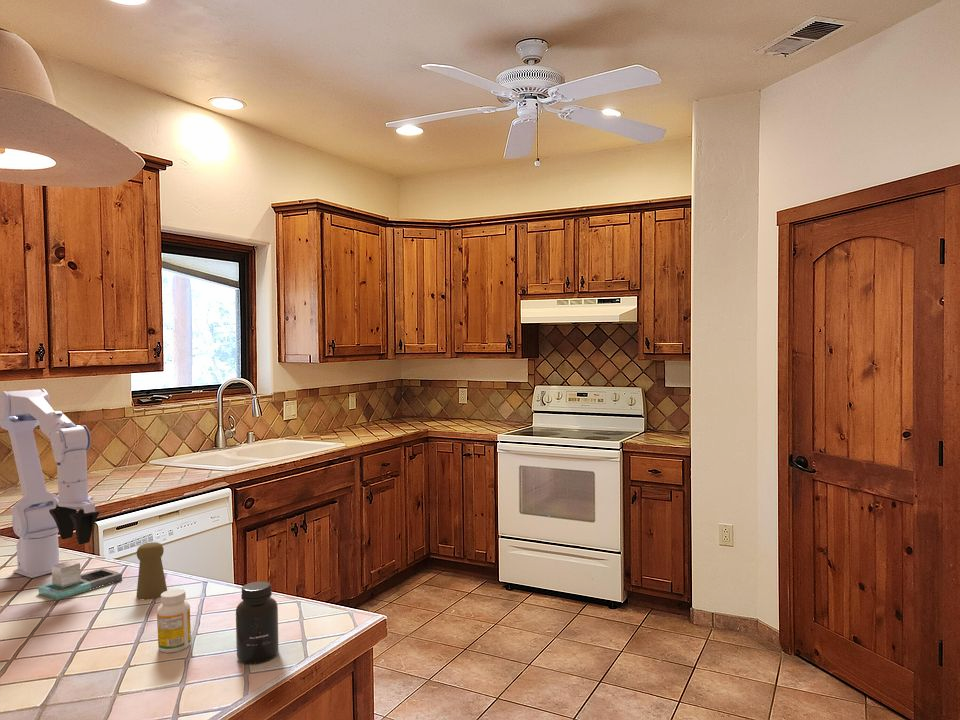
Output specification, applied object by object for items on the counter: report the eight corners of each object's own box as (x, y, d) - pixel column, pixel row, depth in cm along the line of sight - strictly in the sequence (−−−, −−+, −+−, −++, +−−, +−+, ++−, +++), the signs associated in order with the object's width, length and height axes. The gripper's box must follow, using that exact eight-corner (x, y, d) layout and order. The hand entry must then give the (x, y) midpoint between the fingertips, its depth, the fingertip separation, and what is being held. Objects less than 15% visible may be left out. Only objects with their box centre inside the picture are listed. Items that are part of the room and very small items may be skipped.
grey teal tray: (38, 593, 150) (38, 586, 150) (103, 574, 162) (102, 568, 162) (57, 600, 146) (57, 593, 146) (122, 579, 157) (121, 573, 157)
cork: (136, 592, 149) (134, 542, 149) (167, 587, 152) (165, 538, 151) (135, 601, 143) (133, 549, 143) (167, 596, 146) (165, 545, 146)
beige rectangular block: (52, 592, 150) (51, 565, 150) (71, 586, 154) (70, 560, 154) (62, 596, 148) (60, 568, 148) (81, 590, 152) (80, 563, 151)
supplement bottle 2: (255, 668, 112) (252, 596, 112) (228, 659, 116) (225, 588, 115) (287, 651, 118) (285, 582, 118) (260, 643, 122) (258, 576, 121)
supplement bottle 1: (174, 655, 118) (172, 600, 118) (151, 651, 120) (148, 596, 120) (198, 642, 123) (196, 589, 123) (175, 638, 125) (173, 585, 125)
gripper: (107, 480, 153) (110, 540, 154) (75, 474, 161) (77, 531, 162) (74, 486, 147) (77, 549, 148) (42, 480, 156) (45, 539, 156)
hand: (75, 540), depth 155 cm, fingers open, 7 cm apart
